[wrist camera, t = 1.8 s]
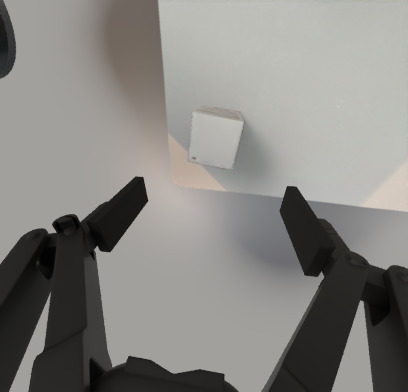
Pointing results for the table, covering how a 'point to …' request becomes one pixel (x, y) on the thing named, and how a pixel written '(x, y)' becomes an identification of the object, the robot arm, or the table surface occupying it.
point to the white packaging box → (215, 136)
